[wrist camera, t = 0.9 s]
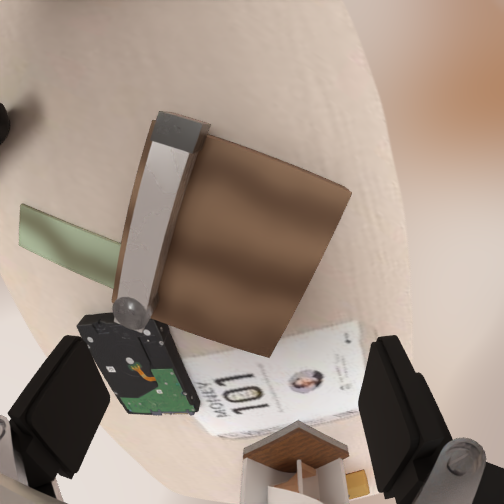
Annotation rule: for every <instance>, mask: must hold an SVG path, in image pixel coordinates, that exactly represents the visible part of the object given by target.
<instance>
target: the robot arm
mask: <svg viewBox="0 0 504 504" xmlns="http://www.w3.org/2000/svg"><path fill="white" fill-rule="evenodd" d="M109 403H110V394H109V392H108V390H107V388H106V386H105V384H104V382H103V379H102V377H101V375H100V373H99V371H98V369H97V366H96V364H95V362H94V359H93V357H92V355H91V352H90V350H89V348H88V345H87V343H86V342H85V341H84V340H83V339H82V338H81V337H79V336H70V335H66V336H64V337H63V339H62V340H61V341H60V342H59V344H58V345H57V346H56V347H55V349H54V350H53V351H52V353H51V354H50V355H49V356H48V358H47V359H46V360H45V362H44V363H43V364H42V366H41V367H40V368H39V370H38V371H37V373H36V374H35V375H34V377H33V378H32V379H31V381H30V382H29V383H28V385H27V386H26V387H25V389H24V390H23V392H22V393H21V394H20V396H19V397H18V399H17V400H16V402H15V403H14V405H13V406H12V407H11V409H10V410H9V412H8V415H9V416H10V418H11V420H10V421H8V420H7V418H6V417H4V416H2V415H0V504H67V503H65V502H64V501H63V498H62V496H61V492H60V489H59V486H58V483H57V480H56V475H57V473H59V475H61V476H64V477H66V478H69V479H72V477H73V475H74V473H77V472H78V471H79V468H80V466H81V464H82V462H83V459H84V457H85V455H86V453H87V450H88V448H89V446H90V444H91V441H92V439H93V437H94V434H95V433H96V430H97V428H98V426H99V424H100V422H101V420H102V418H103V415H104V413H105V411H106V409H107V407H108V405H109ZM358 406H359V411H360V415H361V419H362V423H363V428H364V432H365V436H366V440H367V444H368V449H369V453H370V457H371V462H372V466H373V471H374V475H375V480H376V485H377V489H378V492H379V493H381V492H384V497H385V499H389V498H393V497H395V499H396V503H397V504H504V468H501V467H498V466H496V465H493V464H490V463H488V462H486V455H485V451H484V450H483V448H482V446H481V445H480V444H478V443H477V442H476V441H474V440H472V439H469V438H456V439H454V440H453V439H452V437H451V434H450V432H449V430H448V428H447V425H446V423H445V421H444V419H443V416H442V414H441V412H440V410H439V408H438V406H437V404H436V401H435V399H434V397H433V395H432V393H431V391H430V389H429V387H428V385H427V383H426V381H425V379H424V377H423V375H422V374H421V373H415V371H414V369H413V366H412V364H411V362H410V360H409V358H408V356H407V354H406V352H405V350H404V348H403V347H402V345H401V343H400V341H399V339H398V337H397V336H396V335H392V336H383V337H378V338H377V341H376V342H372V344H371V348H370V352H369V357H368V362H367V366H366V371H365V375H364V379H363V383H362V387H361V391H360V395H359V400H358Z"/></svg>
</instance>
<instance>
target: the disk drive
mask: <svg viewBox="0 0 504 504" xmlns="http://www.w3.org/2000/svg"><path fill="white" fill-rule="evenodd" d="M114 318H115V316H114V314H113V313H102V314H94V315H85V316H84V317H83V318H82V319H81V321H80V322H79V323H78V325H77V328H78V330H79V333H80V335H81V337H82V339H83V340H84V341H85V342H86V343H87V345H88V348H89V350H90V352H91V355H92V357H93V358H94V361H95V362H96V364H97V366H98V367H99V369H100V371H101V372H102V374H103V375H104V378H105V379H106V381H107V382H108V384H109V386H110V387H111V389H112V391H113V392H114V393H115V395H116V396H117V398H118V400H119V402H120V403H121V404H122V405H123V407H124V409H125V410H126V411H127V413H128V414H144V415H162V413H164V414H172V413H173V414H188V413H189V414H190V415H194V414H195V412H198V411H199V406H200V400H199V398H198V396H197V394H196V391H195V389H194V387H193V385H192V383H191V381H190V378H189V376H188V374H187V372H186V370H185V367H184V365H183V363H182V360H181V358H180V356H179V353H178V351H177V349H176V346H175V344H174V342H173V339H172V336H171V334H170V332H169V328H168V325H167V324H165V323H162V322H160V321H157V320H154V319H152V318H150V319H149V321H148V323H147V325H146V326H145V328H144V330H143V332H142V333H140V332H138V331H135V330H132V329H128V328H126V327H124V326H123V325H121V324H118V323H116V322H114Z"/></svg>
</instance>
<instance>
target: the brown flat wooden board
mask: <svg viewBox="0 0 504 504" xmlns="http://www.w3.org/2000/svg"><path fill="white" fill-rule="evenodd" d="M155 122H156V120H152V123H151V126H150V129H149V133H148V136H147V139H146V143H145V146H144V150H143V153H142V157H141V160H140V164H139V168H138V171H137V175H136V179H135V183H134V187H133V191H132V195H131V199H130V204H129V208H128V212H127V217H126V222H125V226H124V231H123V236H122V241H121V243H118V242H116V241H113V240H110V239H108V238H105V237H103V236H100V235H98V234H95V233H93V232H90V231H88V230H85V229H83V228H80V227H78V226H75V225H73V224H70V223H68V222H66V221H63V220H61V219H58V218H56V217H53V216H51V215H49V214H46V213H44V212H41V211H39V210H37V209H34V208H32V207H30V206H27V205H25V204H21V205H20V222H19V246H21V247H23V248H25V249H27V250H29V251H31V252H33V253H35V254H37V255H39V256H41V257H43V258H45V259H48V260H50V261H52V262H54V263H56V264H58V265H60V266H62V267H65V268H67V269H69V270H71V271H73V272H76V273H78V274H80V275H82V276H85V277H87V278H89V279H91V280H94V281H96V282H98V283H101V284H103V285H105V286H108V287H110V288H113V296H112V303H114V302H115V300H116V299H117V297H118V290H119V284H120V278H121V272H122V266H123V261H124V256H125V250H126V245H127V240H128V236H129V231H130V226H131V222H132V217H133V213H134V208H135V204H136V200H137V196H138V192H139V188H140V184H141V180H142V177H143V173H144V169H145V166H146V162H147V158H148V155H149V151H150V148H151V145H152V141H150V138H151V135H152V132H153V128H154V125H155ZM351 194H352V192H350V191H349V190H348V189H347V188H346V187H344V186H342V185H340V184H337V183H335V182H333V181H330V180H328V179H326V178H323V177H321V176H319V175H316V174H314V173H312V172H309V171H307V170H304V169H302V168H299V167H297V166H294V165H292V164H289V163H287V162H284V161H282V160H279V159H277V158H274V157H271V156H269V155H266V154H263V153H261V152H258V151H255V150H253V149H250V148H247V147H244V146H241V145H239V144H236V143H233V142H230V141H227V140H224V139H221V138H218V137H215V136H212V135H209V134H207V137H206V139H205V142H204V145H203V148H202V150H201V151H198V154H197V157H196V160H195V163H194V166H193V169H192V173H191V176H190V179H189V182H188V185H187V188H186V191H185V195H184V198H183V201H182V204H181V208H180V211H179V214H178V218H177V221H176V225H175V228H174V232H173V235H172V239H171V242H170V246H169V250H168V253H167V257H166V261H165V265H164V269H163V272H162V276H161V280H160V284H159V288H158V295H159V302H158V305H157V307H156V308H155V310H154V312H153V314H152V316H151V317H150V318H152V319H154V320H157V321H160V322H162V323H165V324H168V325H170V326H173V327H176V328H178V329H181V330H184V331H187V332H190V333H193V334H195V335H198V336H201V337H204V338H207V339H210V340H213V341H216V342H219V343H222V344H225V345H228V346H231V347H235V348H238V349H241V350H244V351H247V352H251V353H254V354H257V355H261V356H264V357H268V358H270V356H271V354H272V352H273V350H274V349H275V347H276V345H277V343H278V341H279V340H280V338H281V336H282V334H283V332H284V330H285V328H286V327H287V325H288V323H289V321H290V319H291V317H292V315H293V313H294V312H295V310H296V308H297V306H298V304H299V302H300V300H301V298H302V296H303V294H304V292H305V290H306V288H307V286H308V285H309V283H310V281H311V279H312V277H313V275H314V273H315V271H316V269H317V267H318V265H319V263H320V260H321V258H322V256H323V254H324V252H325V250H326V248H327V246H328V244H329V242H330V240H331V238H332V236H333V234H334V231H335V229H336V227H337V225H338V223H339V221H340V219H341V216H342V214H343V212H344V210H345V208H346V206H347V203H348V201H349V199H350V197H351Z"/></svg>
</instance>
